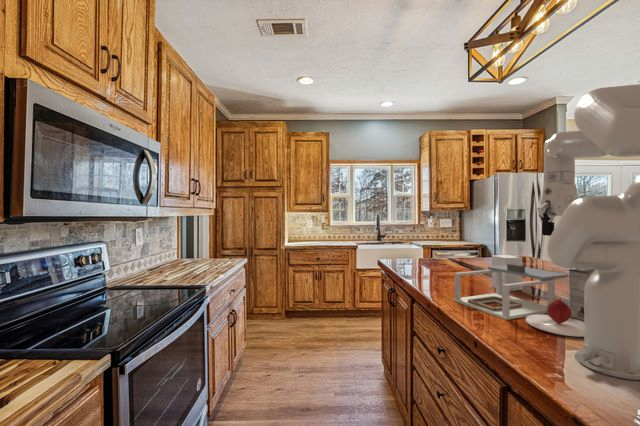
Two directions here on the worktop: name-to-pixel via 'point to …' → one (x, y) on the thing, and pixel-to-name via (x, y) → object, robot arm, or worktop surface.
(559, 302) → the onion
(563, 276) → the slide cover
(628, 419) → the worktop surface
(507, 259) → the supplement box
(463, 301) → the white tiered shelf stand
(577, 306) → the coffee box
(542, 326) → the plate
